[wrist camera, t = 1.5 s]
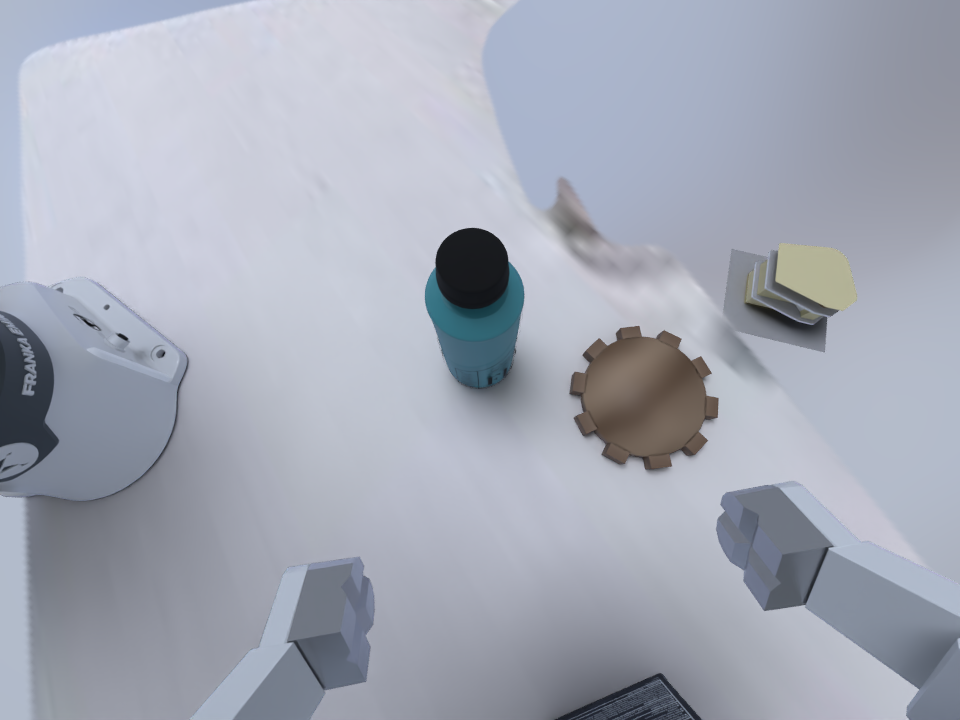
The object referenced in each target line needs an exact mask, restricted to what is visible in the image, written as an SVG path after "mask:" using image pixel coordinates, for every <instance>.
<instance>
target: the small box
mask: <svg viewBox="0 0 960 720" xmlns="http://www.w3.org/2000/svg"><path fill="white" fill-rule="evenodd" d="M556 720H702V719H701V718H700V717H699V716H698V715H697V714H696V712H695V711H694V710H693V709H692V708H691V707H690V706H689V705H688V704H687V703H686V701H685V700H684V699H683V698H682V697H681V696H680V695H679V693H678V692H677V691H676V690H675V689H674V688H673V687H672V686H671V684H669V682H668V681H667V679H666V678H665V676H664V675H663V674H661V673H659V674H657V675H655V676H653V677H650V678H648V679H645V680H643V681H641V682H639V683H637V684H634V685H632V686H630V687H627V688H625V689H623V690H621V691H619V692H616V693H614V694H611V695H609V696H607V697H605V698H603V699H600V700H598V701H596V702H594V703H591V704H589V705H587V706H585V707H582V708H580V709H578V710H576V711H573V712H571V713H569V714H567V715H564V716H562V717H560V718H558V719H556Z"/></svg>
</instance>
